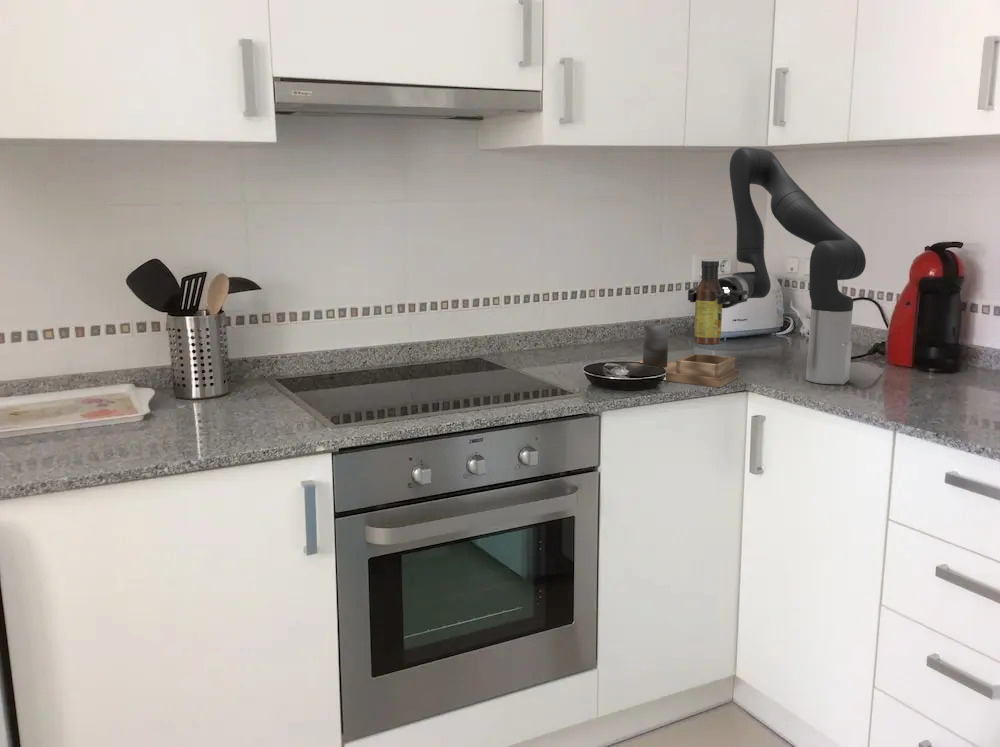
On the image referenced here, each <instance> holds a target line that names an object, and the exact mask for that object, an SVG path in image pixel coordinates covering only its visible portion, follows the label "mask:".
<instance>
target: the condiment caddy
mask: <svg viewBox="0 0 1000 747" xmlns="http://www.w3.org/2000/svg"><path fill="white" fill-rule="evenodd" d="M669 327H670V326H669V325H667V324H663V323H648V324H643V342H642V343H643V347H642V359H639V360H637V361H636V362H640V363H643V364H648V365H654V366H658V367H662V368H664V369H665V370H666V380H667V381H666V382H672V383H679V384H681V383H682V384H687V385H688V384H689V385H698V386H704V387H705V386H706V387H715V388H722V387H723V386H726V385H727V384H729V383H732V382H733V381H735V380H736V379H738V378H739V369H738V368H737V369H736V357H734V356H727V355H725V356H724V355H717V354H716V355H714V354H713V355H712V354H707V353H705V354H704V353H695V352H694V353H692V354H689V355H686V356H685V357H682V358H680V359H677V360H676V362H674V361H668V357H669V356H668V355H669V353H668V352H669Z"/></svg>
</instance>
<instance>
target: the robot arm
mask: <svg viewBox="0 0 1000 747" xmlns="http://www.w3.org/2000/svg"><path fill="white" fill-rule="evenodd" d="M729 179H730V188H731V194H732V200H733V207H734V214H735V222H736V261H738V262H739V263H742V264H750V265H752V267H753V268H754V271H742V272H741V271H739V272H735V273H732V274H731V275H728V276H724V277H720V278H718V280H719V284H720V287H721V290H722V294H720V295H718V304H722V309H728V308H731V307H734V306H737V305H739V304H741V303H746V302H748V299H763V298H765V297H767V296H768V294H769V293H770V291H771V279H770V277H769V276H770V275H769V273H768V268H767V266H766V260H765V230H764V226H763V224H762V223H763V222H762V221H761V218H760V216H759V214H758V212H757V210H756V208H755V205H754V203H753V199H752V196H751V185H758V186H761V187H762V188H763V189H765V191H767V192H768V194H769V195H770V197H771V199H770V209H771V213H772V215H773V216H774V218H775V219H776V220H777V222H778V223H779V224H780V225H781V226H782V227H783V228H784V229H785V230H786V231H787V232H788V233H790V234H791V235H793V236H795V237H797V238H799V239H801V240H803V241H805V242H807V243H809V244H811V245H813V246H814V247H813V249H812V251H811V254H810V257H809V281H808V282H809V284H808V286H809V287H808V290H809V291H808V293H809V297H810V298H809V299H810V316H809V317H810V318H809V319H810V320H809V330H808V333H809V334H808V344H807V345H808V346H807V359H806V371H805V374H806V375H805V380H806V381H808V382H811V383H814V384H815V383H816V384H822V385H845V384H846V383H848V382H849V380H850V371H851V370H850V368H851V359H852V346H853V342H852V340H851V333H852V323H853V322H852V321H853V310H854V309H853V308H854V299H853V298H852V297H851V296H849V295H847V294H844V293H843V292H841V291H840V290H839V285H838V284H839V283H838V282H839V281H846V280H853V279H856V278H858V277H860V276H861V275H862V274H863V272H864V271H865V268H866V265H867V264H866V263H867V262H866V260H867V258H866V255H865V251H864V250H863V248H862V246H861V245H860V244H859V243H858V242H857V241H856V240H855V239H854V238H853V237H851V236H850V235H849V234H847V232H845V230H842V229H841V228H840V227H838V225H837V224H835V223H834V222H833V220H832V219H830V218H829V216H827V214H825V213H824V211H823V210H822V209H820V207H819V206H818V205H817V204H816V202H814V200H813V199H812V198H811V197H810V196H809V195H808V194H807V193H806V192H805V191H804V190H803V189H802V188H801V187H800V186H799V185H798V184H797V183H796V181H794V179H793V178H792V177H791V176H790V175H789V173H787V171H786V169H785V168H784V167H783V165H782V164H781V163H780V160H779V159H778V158H777V156H776V155H775V153H773V152H771V151H770V150H768V149H764V148H753V147H742V146H741V147H739V148H737V149H736V150H734V152H733V153H732V154H731V157H730V160H729ZM697 287H698V286H696V287H693V288H690V289H688V291H687V301H689V302H690V303H695V301H696V290H697Z"/></svg>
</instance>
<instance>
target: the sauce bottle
mask: <svg viewBox="0 0 1000 747" xmlns="http://www.w3.org/2000/svg"><path fill="white" fill-rule="evenodd" d="M700 263H701V276H700V277H701V278H700V279H701V280H700V282H699V284H698V285H697V286H696V287H697V290H696V301H695V302H694V303H695V304H694V305H695V306H694V307H695V309H694V310H695V311H694V336H693V337H694V342H695V344H698V345H701V346H702V345H704V346H714V345H715V346H716V345H718V344H720V342H721V337H722V319H723V318H722V317H723V308H722V304H718V295H720V294H722V290H721V287H720V284H719V280H718V279H719V276H718V275H719V267H720V260H717V259H706V260H705V259H704V260H701V262H700Z"/></svg>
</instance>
